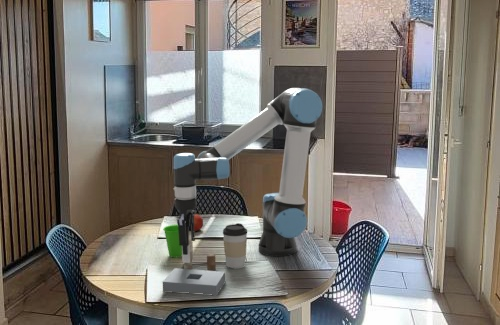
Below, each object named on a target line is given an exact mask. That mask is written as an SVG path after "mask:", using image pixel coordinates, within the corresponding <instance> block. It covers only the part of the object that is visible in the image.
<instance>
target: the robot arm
mask: <svg viewBox="0 0 500 325" xmlns="http://www.w3.org/2000/svg"><path fill="white" fill-rule="evenodd" d="M322 112H323V102H322V99H321V97H320V96H319V94H318V93H316V92H315V91H313V90H312V89H310V88H305V87H304V88H303V87H301V88H300V87H291V88H288V89H286V90H284V91H283V92H281V94H279V95H278V96H277V97H275V98H273V99H272V100H271V101H270V102H268V103H267V105H266V108H265V109H263V110H262V111H261V112H259V113H258V114H256V115H255V116H254V117H252V118H251V119H249V120H248V121H247V122H245V123H244V124H243V125H241V126H240V127H238V128H237V129H235V130H234V131H233V132H231V133H230V134H228V135H227V136H226V137H224V138H223V139H221V140H220V141H218V142H217V143H216V144H214V145H213V146H212V147H210V148H209V149H207V150H204V151H201V152H200V153H199V154H198V156H197V158H196V157H195V156H196V155H195V154H194V153H191V152H181V153H176V154H175V155H174V156H173V184H174V187H173V188H172V189H173V191H174V197H175V198H174V208H175V209H176V210H177V211H178V210H179V215H178V216H179V217H178V218H179V219H177V220H176V223H177V225H178V231H179V245H181V246H182V256H181V261H182V263H183V264H184V263H190V245H189V231H191V241H192V261H193V259H194V245H193V242H196V238H195V231H194V215H195V214H196V211H195V209H196V208H197V197H196V196H197V183H196V182H197V181H203V180H205V181H206V180H221V179H228V178H229V177H230V173H231V172H230V169H231V168H230V161H229V160H230V159H232V158H233V157H235V156H236V155H237V154H239V153H241V151H243V150H245V149H246V148H247V147H248V146H250V145H251V144H253V143H254V142H256V141H257V140H258V139H260V138H261V137H263V136H264V135H265V134H267V133H268V132H269V131H271V130H272V129H273V128H275V127H276V126H278V125H281V126H282V125H283V126H284V127H285V128H286V135H285V143H284V151H283V159H282V167H281V174H280V182H279V190H278V192H272V193H266V194H264V195H263V198H262V202H261V203H262V233H261V235H260V236H261V237H260V239H259V242H258V252H259V253H261V254H263V255H266V256H271V257H284V256H285V257H286V256H290V255H293V254H296V252H297V242H296V239H295V238H297V237H299V236H300V235H301V234H303V233H304V231H305V230H306V228H307V226H308V218H307V215H306V213H305V210H306V203H307V202H306V200H305V199H304V197H303V192H304V186H305V178H306V172H307V171H306V170H307V161H308V156H309V155H308V154H309V148H310V147H309V146H310V139H311V133H312V131H314V130H315V129H316V127H317V120H318V119H319V118H320V116H321V115H322Z"/></svg>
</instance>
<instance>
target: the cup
mask: <svg viewBox="0 0 500 325" xmlns="http://www.w3.org/2000/svg"><path fill="white" fill-rule="evenodd" d="M163 231H164V236H165V240H166V246H167V250H168V251H167V252H168V255H169V257H171V258H182V246H181V245H179V231H178V224H171V225H166V226H164V227H163Z"/></svg>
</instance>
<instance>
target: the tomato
mask: <svg viewBox="0 0 500 325" xmlns="http://www.w3.org/2000/svg"><path fill="white" fill-rule="evenodd" d="M203 227H204V218H203V217H202V216H201V215H199V214H198V213H195V215H194V232H197V231H200V230H201V229H203Z"/></svg>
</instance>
